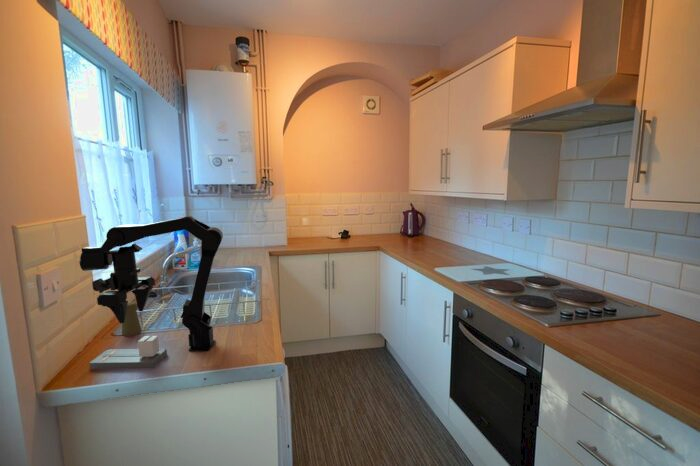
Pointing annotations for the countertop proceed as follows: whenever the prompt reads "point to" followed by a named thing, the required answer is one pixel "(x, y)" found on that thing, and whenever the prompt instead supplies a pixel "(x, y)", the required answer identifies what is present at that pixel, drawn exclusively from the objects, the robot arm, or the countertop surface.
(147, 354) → the block
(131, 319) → the cork
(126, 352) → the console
